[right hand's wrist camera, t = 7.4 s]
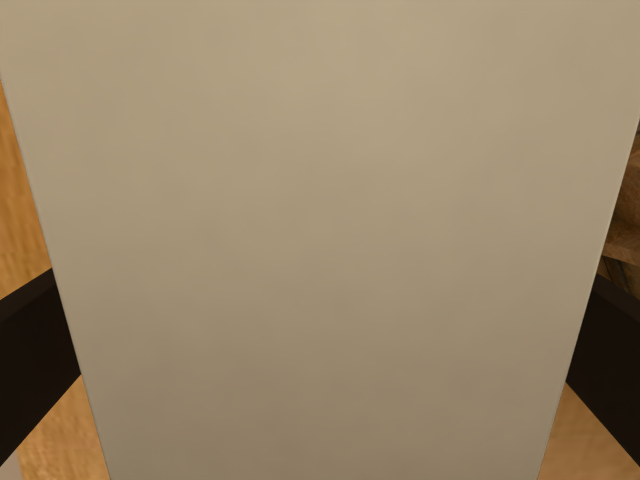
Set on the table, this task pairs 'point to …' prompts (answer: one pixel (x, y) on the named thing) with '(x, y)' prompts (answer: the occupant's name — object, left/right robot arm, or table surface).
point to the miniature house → (626, 228)
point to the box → (323, 222)
